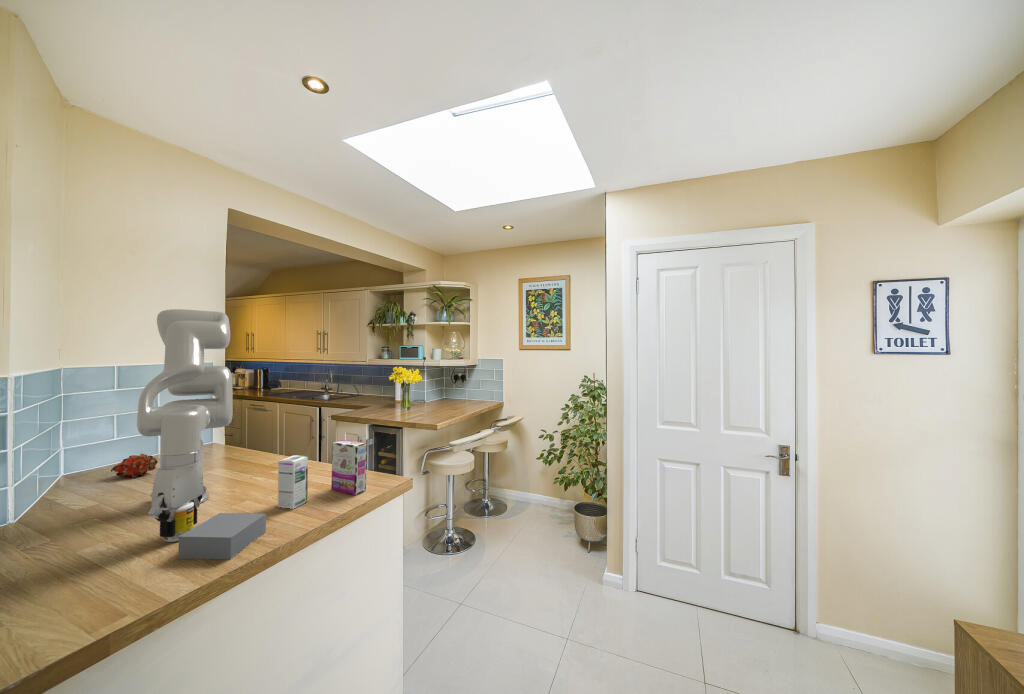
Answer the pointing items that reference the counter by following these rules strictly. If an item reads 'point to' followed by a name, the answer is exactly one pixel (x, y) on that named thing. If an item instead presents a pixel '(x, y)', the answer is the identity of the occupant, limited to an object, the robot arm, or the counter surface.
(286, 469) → the syrup box
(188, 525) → the supplement bottle
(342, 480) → the candy bar box
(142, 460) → the dragon fruit
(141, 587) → the counter surface
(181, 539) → the base block
